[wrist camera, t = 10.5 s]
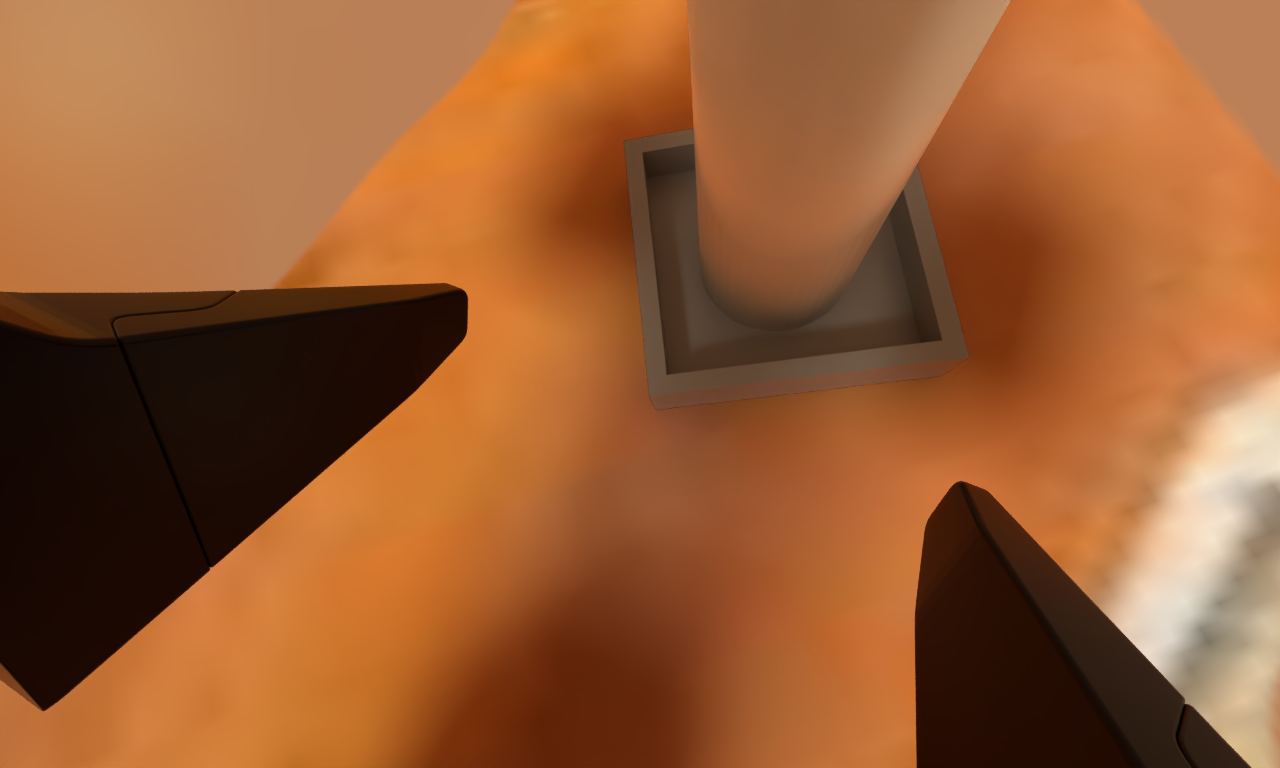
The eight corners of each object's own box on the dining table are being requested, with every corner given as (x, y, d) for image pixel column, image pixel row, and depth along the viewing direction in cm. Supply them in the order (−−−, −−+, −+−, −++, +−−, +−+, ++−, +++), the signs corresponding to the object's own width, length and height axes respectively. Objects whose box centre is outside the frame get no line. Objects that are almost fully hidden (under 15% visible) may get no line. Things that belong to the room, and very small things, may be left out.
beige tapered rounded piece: (881, 287, 17) (1319, -324, 5) (745, 357, 17) (829, -70, 5) (800, 174, 19) (978, -527, 6) (675, 239, 19) (600, -329, 6)
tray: (940, 376, 17) (969, 357, 15) (655, 409, 18) (648, 396, 16) (879, 135, 19) (898, 92, 17) (631, 176, 20) (623, 140, 18)
